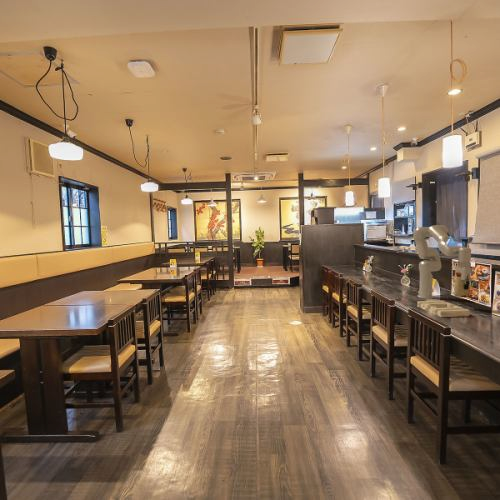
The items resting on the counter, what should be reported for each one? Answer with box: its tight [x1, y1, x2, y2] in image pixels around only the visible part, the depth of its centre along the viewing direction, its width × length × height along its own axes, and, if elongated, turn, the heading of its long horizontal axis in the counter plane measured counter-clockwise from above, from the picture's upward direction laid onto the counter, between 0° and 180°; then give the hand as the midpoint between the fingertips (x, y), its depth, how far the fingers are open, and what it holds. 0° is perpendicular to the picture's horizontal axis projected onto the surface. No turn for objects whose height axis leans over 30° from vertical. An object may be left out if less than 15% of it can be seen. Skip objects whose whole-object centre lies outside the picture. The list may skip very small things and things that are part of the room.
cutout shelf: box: [416, 300, 470, 318], centre depth 219 cm, size 26×20×4 cm
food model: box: [453, 271, 471, 298], centre depth 224 cm, size 10×7×20 cm
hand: (462, 287), depth 224 cm, fingers closed on food model, 7 cm apart
